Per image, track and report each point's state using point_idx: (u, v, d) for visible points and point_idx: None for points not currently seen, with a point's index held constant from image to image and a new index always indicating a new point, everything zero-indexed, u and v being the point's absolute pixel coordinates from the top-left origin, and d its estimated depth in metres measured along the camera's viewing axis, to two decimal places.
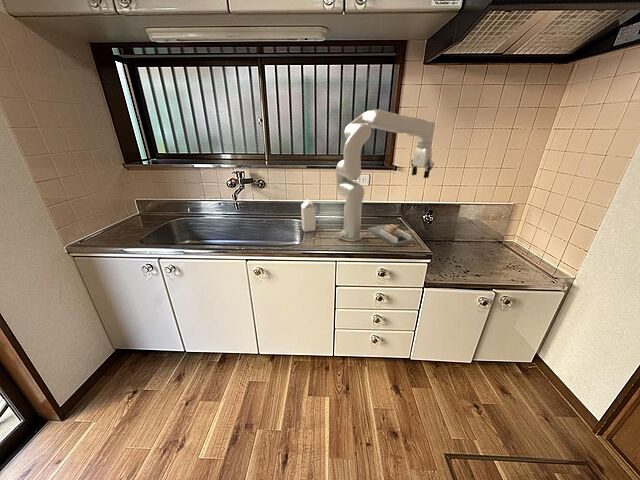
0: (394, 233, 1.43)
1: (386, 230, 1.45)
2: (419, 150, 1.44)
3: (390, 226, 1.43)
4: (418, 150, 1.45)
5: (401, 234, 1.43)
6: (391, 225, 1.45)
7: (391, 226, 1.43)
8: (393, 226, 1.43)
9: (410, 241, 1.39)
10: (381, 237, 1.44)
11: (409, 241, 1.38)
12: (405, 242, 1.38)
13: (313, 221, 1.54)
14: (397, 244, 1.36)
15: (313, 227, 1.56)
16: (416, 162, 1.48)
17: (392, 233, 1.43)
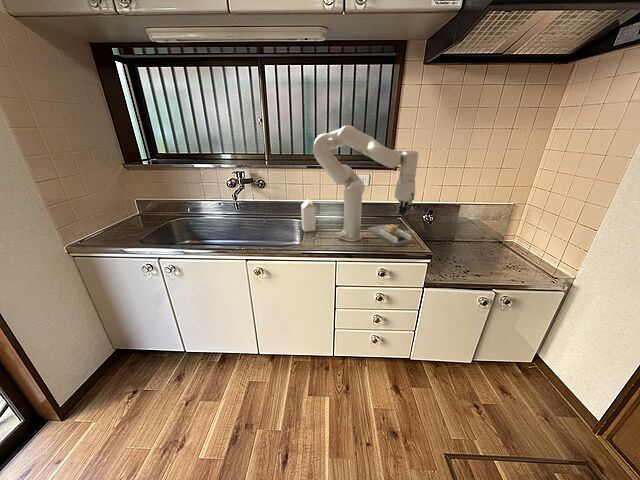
0: (394, 233, 1.43)
1: (386, 230, 1.45)
2: (401, 182, 1.26)
3: (390, 226, 1.43)
4: (400, 182, 1.27)
5: (401, 234, 1.43)
6: (391, 225, 1.45)
7: (391, 226, 1.43)
8: (393, 226, 1.43)
9: (410, 241, 1.39)
10: (381, 237, 1.44)
11: (409, 241, 1.38)
12: (405, 242, 1.38)
13: (313, 221, 1.54)
14: (397, 244, 1.36)
15: (313, 227, 1.56)
16: (398, 195, 1.30)
17: (392, 233, 1.43)
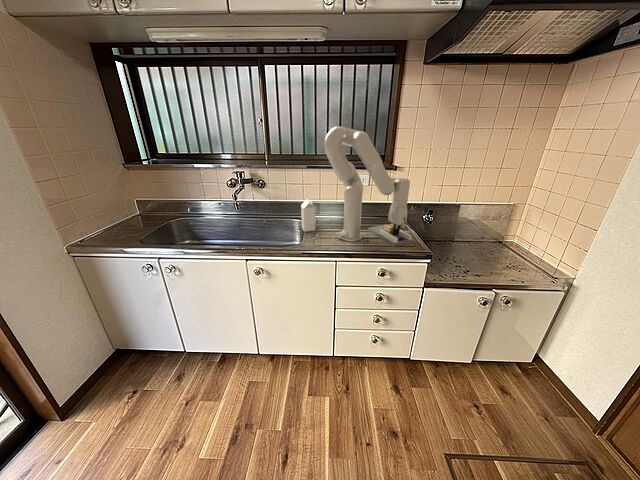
0: None
1: (386, 230, 1.45)
2: (394, 207, 1.34)
3: (390, 226, 1.44)
4: (393, 207, 1.35)
5: (401, 234, 1.43)
6: (391, 225, 1.45)
7: (391, 226, 1.44)
8: None
9: (410, 241, 1.39)
10: (381, 237, 1.44)
11: (409, 241, 1.38)
12: (405, 242, 1.38)
13: (313, 221, 1.54)
14: (397, 244, 1.36)
15: (313, 227, 1.56)
16: (391, 219, 1.38)
17: (392, 233, 1.43)
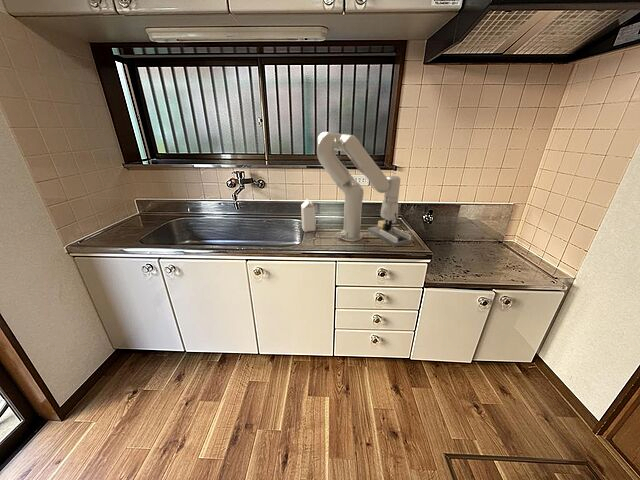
0: None
1: (379, 225, 1.51)
2: (386, 203, 1.41)
3: (383, 221, 1.50)
4: (385, 203, 1.41)
5: (401, 234, 1.43)
6: (384, 221, 1.52)
7: (384, 222, 1.50)
8: None
9: (410, 241, 1.39)
10: (381, 237, 1.44)
11: (409, 241, 1.38)
12: (405, 242, 1.38)
13: (313, 221, 1.54)
14: (397, 244, 1.36)
15: (313, 227, 1.56)
16: (383, 214, 1.44)
17: None
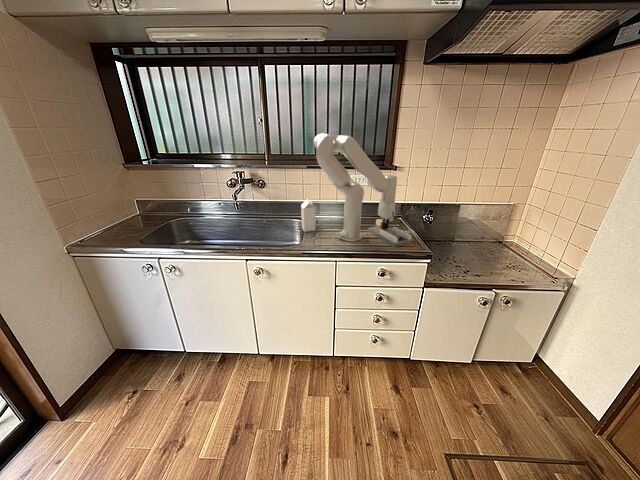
0: None
1: (377, 224, 1.54)
2: (383, 202, 1.43)
3: (381, 220, 1.52)
4: (382, 202, 1.43)
5: (401, 234, 1.43)
6: None
7: None
8: None
9: (410, 241, 1.39)
10: (381, 237, 1.44)
11: (409, 241, 1.38)
12: (405, 242, 1.38)
13: (313, 221, 1.54)
14: (397, 244, 1.36)
15: (313, 227, 1.56)
16: (381, 213, 1.46)
17: None
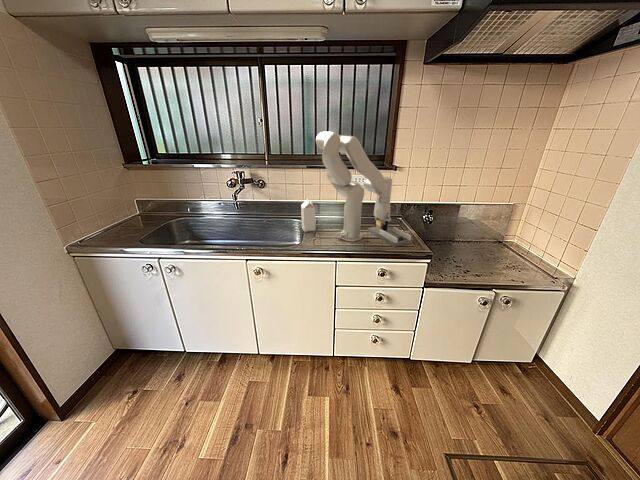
0: None
1: (377, 224, 1.53)
2: (378, 203, 1.47)
3: (381, 220, 1.52)
4: (377, 203, 1.47)
5: (401, 234, 1.43)
6: None
7: (382, 220, 1.52)
8: None
9: (410, 241, 1.39)
10: (381, 237, 1.44)
11: (409, 241, 1.38)
12: (405, 242, 1.38)
13: (313, 221, 1.54)
14: (397, 244, 1.36)
15: (313, 227, 1.56)
16: (376, 214, 1.50)
17: None
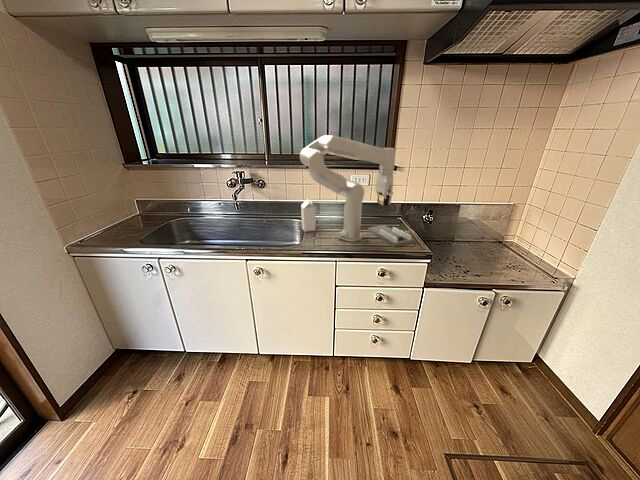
0: None
1: (380, 199, 1.46)
2: (381, 176, 1.40)
3: (384, 195, 1.45)
4: (380, 176, 1.41)
5: (401, 234, 1.43)
6: None
7: None
8: None
9: (410, 241, 1.39)
10: (381, 237, 1.44)
11: (409, 241, 1.38)
12: (405, 242, 1.38)
13: (313, 221, 1.54)
14: (397, 244, 1.36)
15: (313, 227, 1.56)
16: (378, 188, 1.44)
17: None
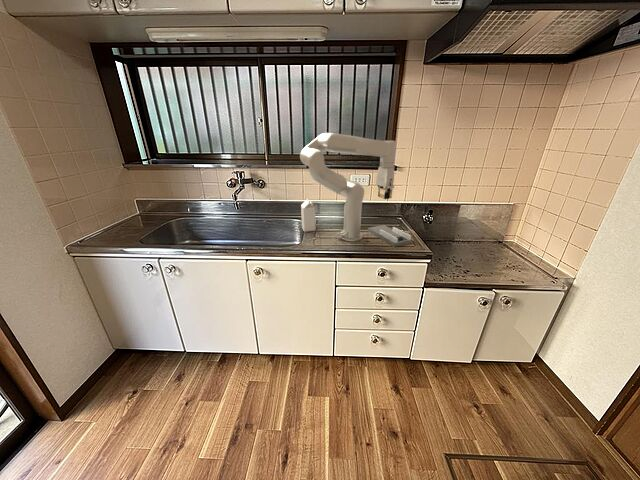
0: None
1: (381, 193, 1.45)
2: (381, 169, 1.39)
3: None
4: (380, 169, 1.40)
5: (401, 234, 1.43)
6: None
7: None
8: None
9: (410, 241, 1.39)
10: (381, 237, 1.44)
11: (409, 241, 1.38)
12: (405, 242, 1.38)
13: (313, 221, 1.54)
14: (397, 244, 1.36)
15: (313, 227, 1.56)
16: (379, 181, 1.42)
17: None
